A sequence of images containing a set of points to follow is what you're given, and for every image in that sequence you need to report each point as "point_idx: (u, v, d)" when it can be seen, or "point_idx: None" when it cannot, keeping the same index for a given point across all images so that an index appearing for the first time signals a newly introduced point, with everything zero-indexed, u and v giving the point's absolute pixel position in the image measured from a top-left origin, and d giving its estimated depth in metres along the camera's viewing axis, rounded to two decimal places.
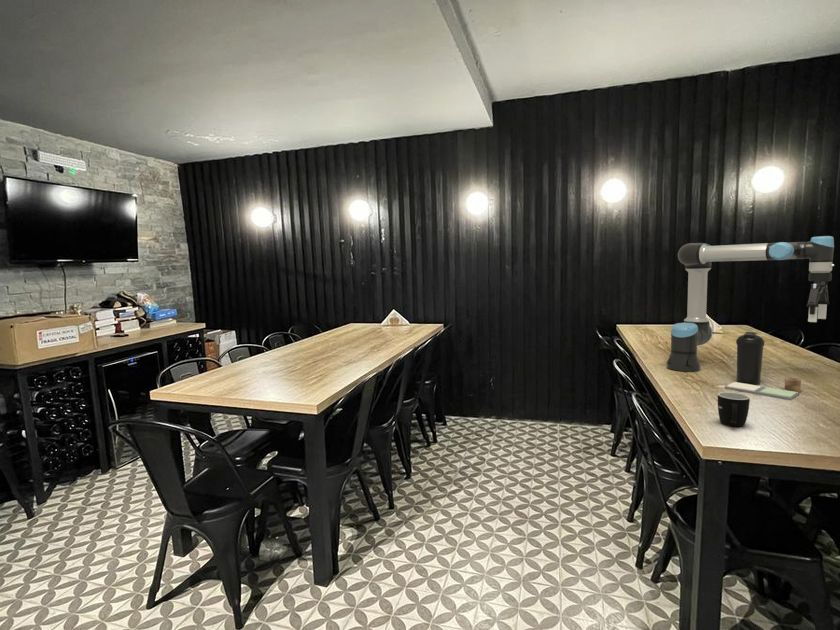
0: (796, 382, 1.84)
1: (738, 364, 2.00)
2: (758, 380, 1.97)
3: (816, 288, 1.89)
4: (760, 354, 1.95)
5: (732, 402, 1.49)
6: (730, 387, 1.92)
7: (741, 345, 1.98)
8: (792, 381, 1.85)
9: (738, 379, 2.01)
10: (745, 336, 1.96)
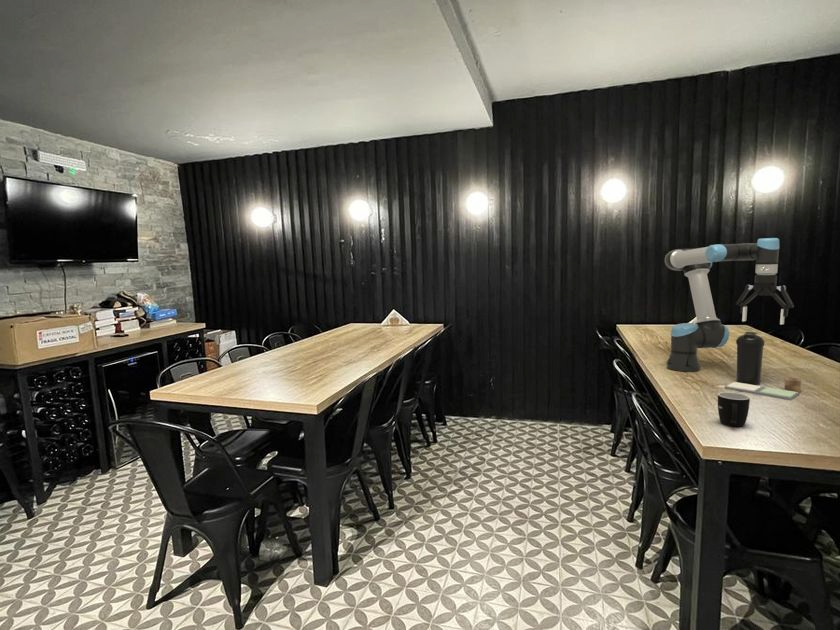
0: (796, 382, 1.84)
1: (738, 364, 2.00)
2: (758, 380, 1.97)
3: None
4: (760, 354, 1.95)
5: (732, 402, 1.49)
6: (730, 387, 1.92)
7: (741, 345, 1.98)
8: (792, 381, 1.85)
9: (738, 379, 2.01)
10: (745, 336, 1.96)
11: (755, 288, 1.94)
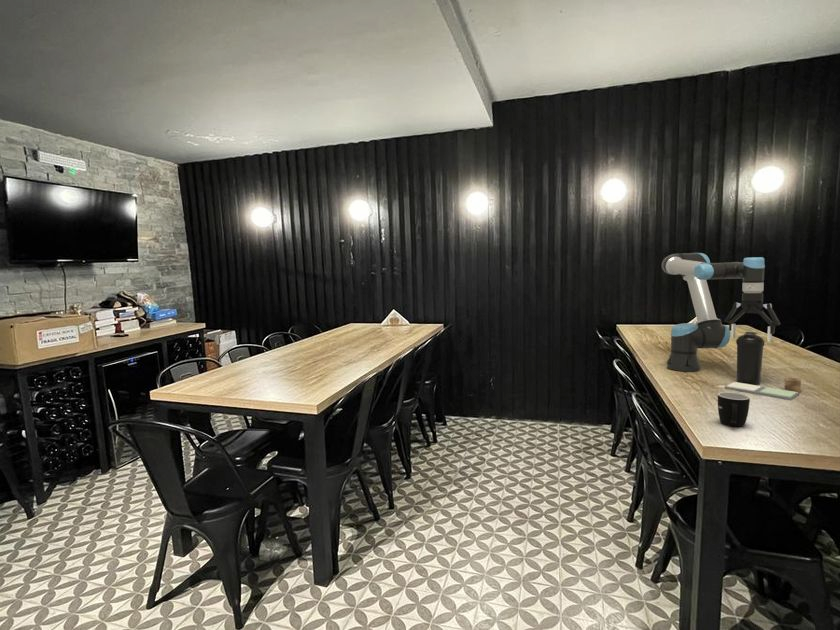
0: (796, 382, 1.84)
1: (738, 364, 2.00)
2: (758, 380, 1.97)
3: None
4: (760, 354, 1.95)
5: (732, 402, 1.49)
6: (730, 387, 1.92)
7: (741, 345, 1.98)
8: (792, 381, 1.85)
9: (738, 379, 2.01)
10: (745, 336, 1.96)
11: (742, 306, 1.99)
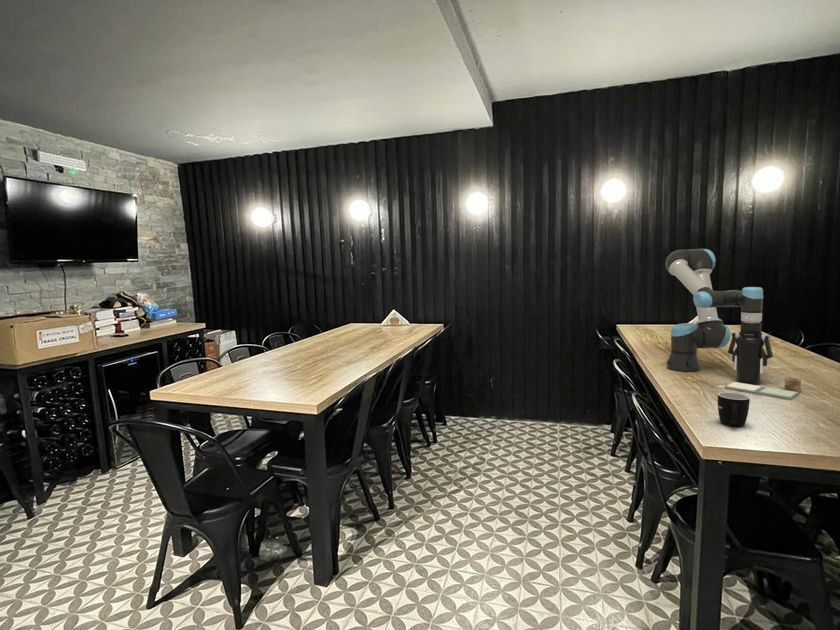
0: (796, 382, 1.84)
1: (738, 364, 2.00)
2: (758, 380, 1.97)
3: None
4: (760, 354, 1.95)
5: (732, 402, 1.49)
6: (730, 387, 1.92)
7: (741, 345, 1.98)
8: (792, 381, 1.85)
9: (738, 379, 2.01)
10: (745, 336, 1.96)
11: (741, 335, 2.00)
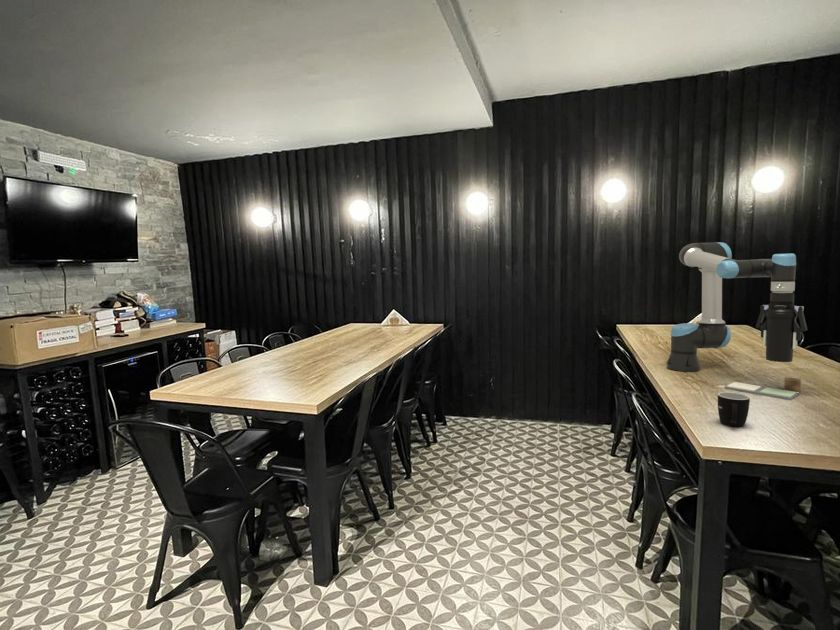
0: (796, 382, 1.84)
1: (768, 339, 1.81)
2: (791, 356, 1.78)
3: None
4: (793, 327, 1.76)
5: (732, 402, 1.49)
6: (730, 387, 1.92)
7: (771, 318, 1.79)
8: (792, 381, 1.85)
9: (768, 356, 1.82)
10: (776, 307, 1.78)
11: (771, 307, 1.81)
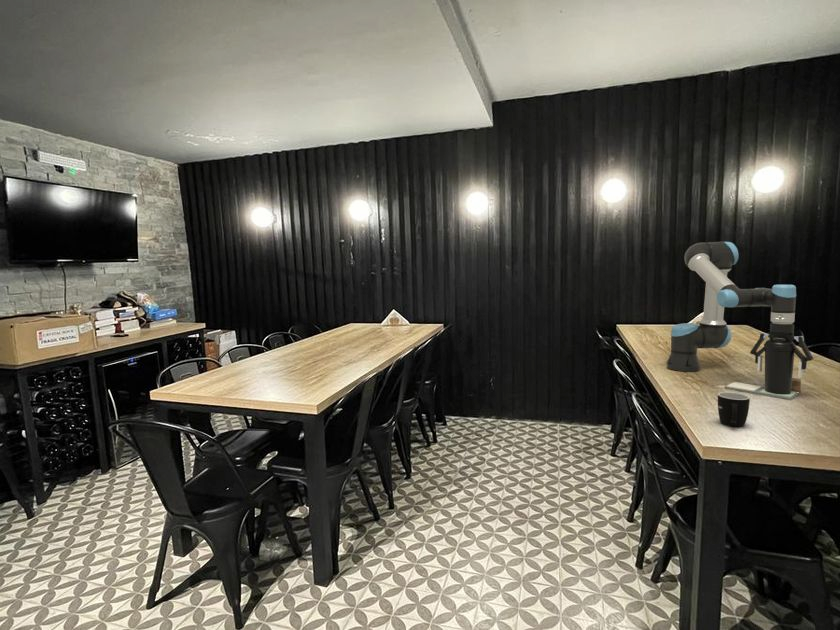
0: (796, 382, 1.84)
1: (766, 371, 1.82)
2: (789, 388, 1.79)
3: None
4: (791, 360, 1.77)
5: (732, 402, 1.49)
6: (730, 387, 1.92)
7: (770, 350, 1.79)
8: (792, 381, 1.85)
9: (766, 387, 1.83)
10: (774, 340, 1.78)
11: (771, 337, 1.82)
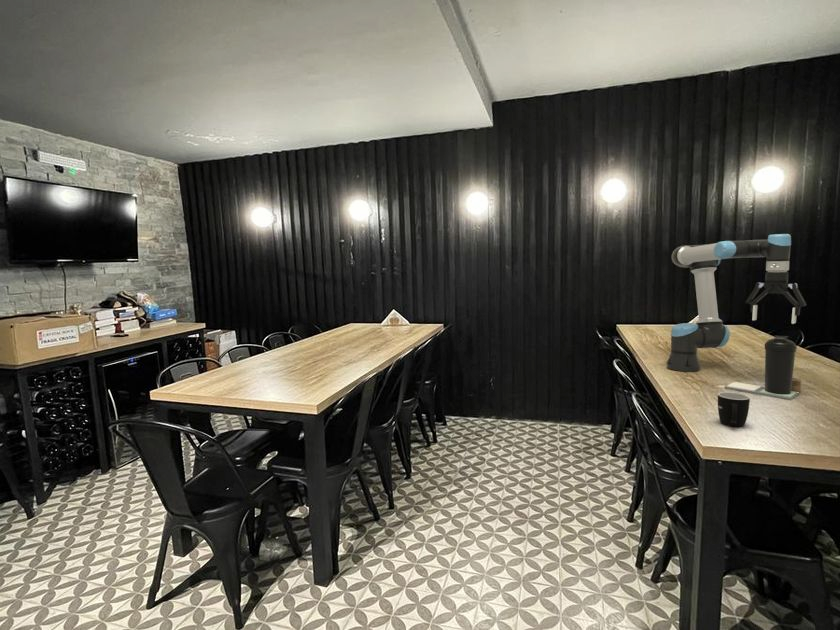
0: (796, 382, 1.84)
1: (767, 371, 1.82)
2: (789, 389, 1.79)
3: None
4: (792, 360, 1.77)
5: (732, 402, 1.49)
6: (730, 387, 1.92)
7: (771, 350, 1.80)
8: (792, 381, 1.85)
9: (767, 387, 1.83)
10: (775, 340, 1.78)
11: (766, 286, 1.88)
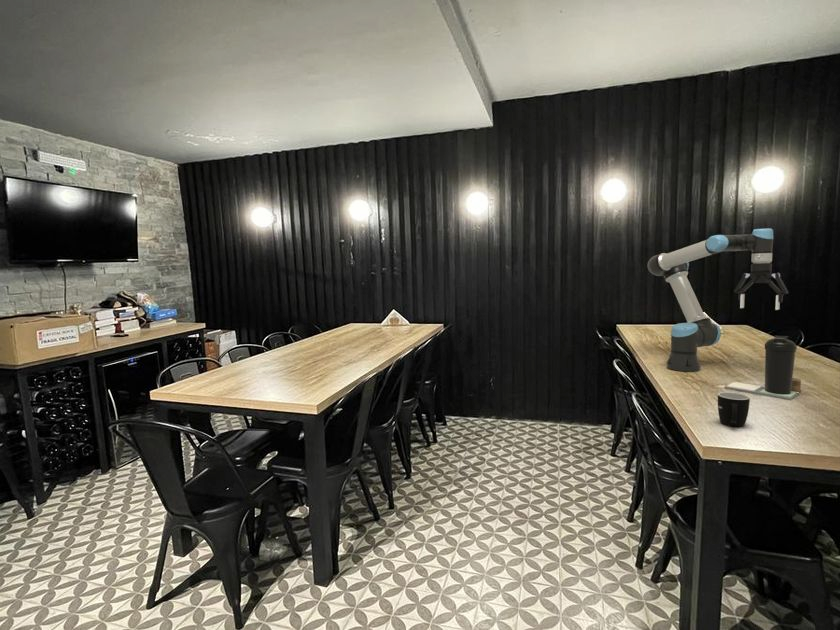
0: (796, 382, 1.84)
1: (767, 371, 1.82)
2: (789, 389, 1.79)
3: None
4: (792, 360, 1.77)
5: (732, 402, 1.49)
6: (730, 387, 1.92)
7: (771, 350, 1.80)
8: (792, 381, 1.85)
9: (767, 387, 1.83)
10: (775, 340, 1.78)
11: (751, 276, 2.06)
